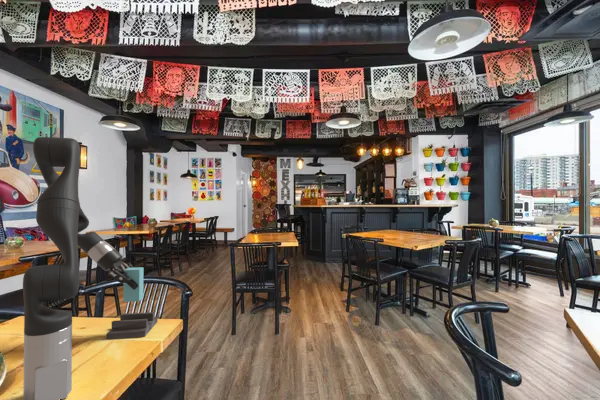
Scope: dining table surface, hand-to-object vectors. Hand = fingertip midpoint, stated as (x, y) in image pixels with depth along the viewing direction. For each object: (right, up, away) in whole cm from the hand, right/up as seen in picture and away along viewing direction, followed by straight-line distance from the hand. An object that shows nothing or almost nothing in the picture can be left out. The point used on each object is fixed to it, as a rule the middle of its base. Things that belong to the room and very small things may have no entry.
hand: (139, 285), depth 111 cm
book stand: (-2, -17, 0) cm, 17 cm away
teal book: (-2, -5, 0) cm, 6 cm away
